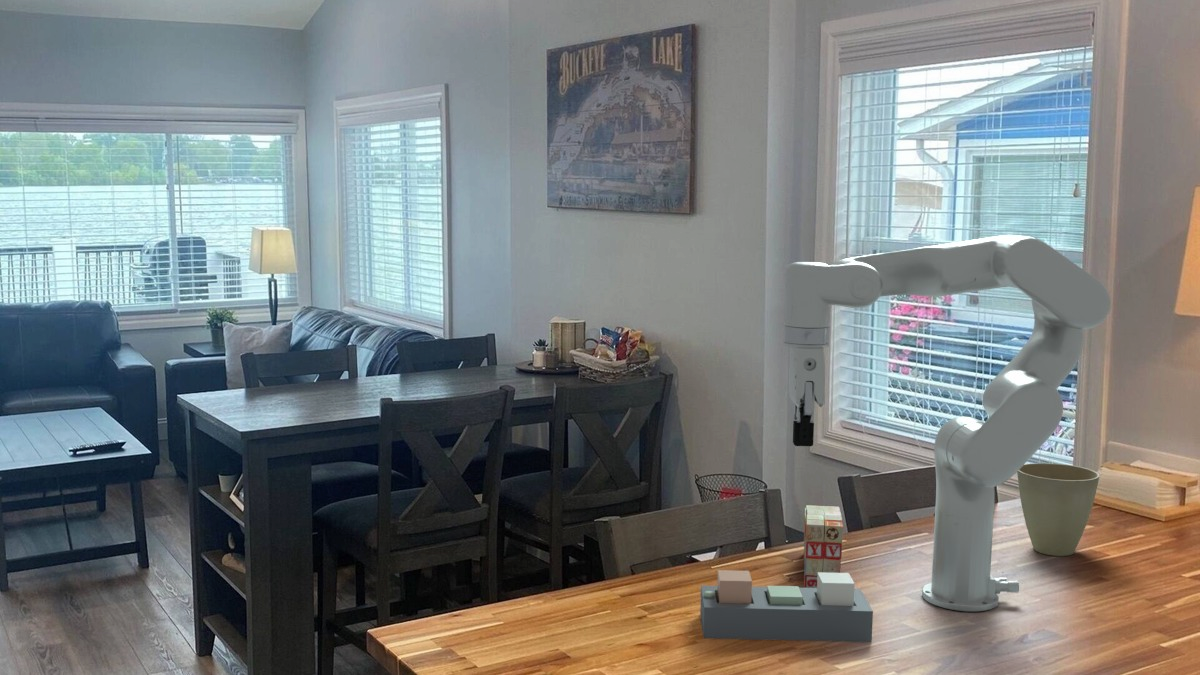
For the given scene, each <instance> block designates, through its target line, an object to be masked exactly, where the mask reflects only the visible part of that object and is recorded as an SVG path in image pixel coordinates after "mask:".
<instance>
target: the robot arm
mask: <svg viewBox="0 0 1200 675" xmlns="http://www.w3.org/2000/svg"><path fill="white" fill-rule="evenodd" d="M784 274H785V275H784V276H785V278H784V283H785V284H784V309H783V310H784V312H783V313H784V316H783V342H782V343H783V344H782V345H783V346H785V347H789V363H788V395H789V399H790V400H791V402H792V403H793V404H794V405H793V407H794V408H793V409H794V412H793V414H794V415H793V418H794V419H793V423H792V424H793V425H792V427H793V428H792V444H793V445H794V446H795V447H813V446H814V437H815V436H814V435H815V434H814V433H815V432H814V430H815V422H814V416H815V404H817V405H818V406H819V408H823V407H824V406H825V405H826V364H825V363H826V362H825V361H826V360H825V348H828V347H830V335H831V334H830V331H831V330H830V329H831V327H830V326H831V306H836V307H844V308H845V307H846V308H850V309H863V308H867V307H869V306H872V305H873V304H874V303H876V302H877V301H878V300H879V299H880V298H881V297H889V296H892V297H893V296H908V295H909V296H916V297H917V296H918V297H927V298H929V297H932V298H934V297H936V298H937V297H946V296H947V297H948V296H953V295H960V294H964V293H966V294H967V293H972V292H973V293H974V292H977V291H978V292H979V291H986V290H992V289H993V290H994V289H1000V288H1007V287H1009V288H1010V287H1011V288H1015V289H1018V290H1019V291H1021V292H1022V293H1023V294H1025V295H1026V296H1027V297H1029V298H1030V299H1031V306H1032V312H1033V315H1034V318H1033V319H1034V323H1033V329H1032V332H1031V335H1030V337H1029V338H1028V340H1027V342H1026V343H1025V344H1024V345H1023V346H1022V348H1021V349H1020V350H1019V351H1018V353H1016V355H1015V356H1014V357H1013V358H1012V359H1011V360H1010V361H1009V362H1008V363H1007V364H1006V366H1004V367H1003V369H1001V371H1000V372H999V373H998V374H997V375H996V376H995V377H994V378H993V379H992V380H991V381H990V382H989V384H988V385H987V386H986V388H985V389H984V391H983V394H982V406H983V409H984V411H985V413H986V415H988V416H989V417H988V418H987V419H986V420H985V422H984V421H982V420H980V419H977V418H975V417H972V416H957V417H953V418H951V419H949V420H947V421H946V422H945V423H944V424H943V425H942V426H941V427H940V429H939V430H938V432H937V434H936V437H935V439H934V440H935V441H934V449H933V450H934V452H933V453H934V467H935V479H936V480H935V482H936V483H935V484H936V487H935V488H936V490H935V507H934V508H935V509H934V529H933V531H934V532H933V546H932V547H933V548H932V567H931V568H932V569H931V570H932V571H931V582H929V583H926V584H924V585H923V587H922V588H921V597H922V598H923V599H924V600H925V601H926V602H928V603H929V604H931V605H934V606H937V607H939V608H943V609H946V610H953V611H959V612H960V611H961V612H985V611H989V610H992V609H994V608H996V607H997V606H998V605H999V599H1000V598H999V595H1000V593H1001V592H1003V593H1005V592H1006V593H1016V594H1017V593H1019V591H1020V584H1019V582H1018V580H1007V577H994V575H992V573H991V570H992V555H993V554H992V551H993V533H994V532H993V530H994V515H995V503H996V502H995V496H996V495H995V487H997V486H1000V485H1003V484H1004V483H1005V482H1007V481H1008V480H1010V479H1011V478H1012V477H1013V476H1014V475H1016V474H1017V471H1018V470H1019V469H1020V468H1021V467H1022V466H1023V465H1024V464H1027V462H1028V461H1029V460H1030V459H1031V458H1032V457H1033V456H1034V454H1036V453H1037V452H1038V450H1039V449H1040V448H1041V447H1042V446H1043V445H1044V444H1045V443H1046V442H1047V441H1048V440H1049V439H1050V438H1051V436H1052V435H1053V434H1054V432H1056V430H1057V429H1058V427H1059V425H1060V422H1061V421H1062V418H1063V412H1064V402H1063V398H1062V395H1061V394H1060V392H1059V391H1058V388H1059V387H1060V386H1061V385H1062V384H1063V382H1064V381H1065V380H1066V378H1068V377H1069V375H1070V374H1071V372H1072V371H1073V370H1074V368H1075V367H1076V365H1077V364H1078V362H1079V361H1080V357H1081V355H1082V351H1083V346H1084V339H1085V338H1084V336H1085V335H1084V334H1085V331H1084V330H1090V329H1093V328H1096V327H1098V326H1099V325H1101V324H1102V323H1103V322H1104V321H1105V319H1106V318H1107V317H1108V315H1109V314H1110V313H1109V312H1110V310H1111V305H1112V304H1111V303H1112V302H1111V296H1110V293H1109V291H1108V288H1106V286H1105V285H1104V284H1103V283H1102V282H1101V281H1100V280H1099V279H1097V278H1096V277H1095V276H1093V275H1092V274H1091V273H1089V272H1087V271H1086V270H1084V269H1083V268H1082V267H1080V266H1079V265H1077V264H1076V263H1074V262H1073V261H1072V260H1070V259H1069V258H1067V257H1066V256H1065V255H1063V254H1062V253H1060V252H1059V251H1057V249H1054V248H1053V247H1052V246H1050V245H1049V244H1048V243H1046V242H1045V241H1043V240H1041V239H1038V238H1035V237H1033V236H1025V235H1017V234H1014V235H1013V234H1006V235H997V236H990V237H984V238H978V239H977V238H975V239H971V240H965V241H964V240H963V241H959V242H950V243H944V244H938V245H937V244H936V245H930V246H922V247H917V248H911V249H905V250H898V251H889V252H881V253H874V254H873V253H872V254H868V255H861V256H855V257H849V258H847V257H846V258H843V259H839V260H836V261H834V262H833V263H832V264H830V265H828V264H827V263H824V262H818V261H796V262H792V263H789V264H788V265H787V266H786V269H785V273H784Z"/></svg>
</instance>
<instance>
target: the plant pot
mask: <svg viewBox="0 0 1200 675" xmlns="http://www.w3.org/2000/svg"><path fill="white" fill-rule="evenodd" d="M1016 474H1017V482H1018V489H1019V497H1020V498H1019V499H1020V503H1021V508H1022V514H1023V517H1024V522H1025V525H1026V529H1027V532H1028V536H1029V539H1030V543H1031V546H1032V548H1033V550H1035V551H1036V552H1037V553H1040V554H1043V555H1047V556H1054V557H1055V556H1056V557H1066V556H1072V555H1073V554H1074V553H1075V552H1076V550H1077V547H1078V546H1079V543H1080V541H1081V539H1082V536H1083V534H1084V532H1085V528H1086V526H1087V524H1088V521H1089V519H1090V515H1091V513H1092V508H1093V506H1094V502H1095V497H1096V494H1097V489H1098V485H1099V480H1100V475H1101V474H1099V472H1097V471H1095V470H1093V469H1091V468H1087V467H1082V466H1077V465H1072V464H1064V463H1053V462H1052V463H1051V462H1035V463H1034V462H1033V463H1025V464H1024V465H1023V466H1022V467H1021V468H1020V469H1019V470H1018V471H1017V472H1016Z"/></svg>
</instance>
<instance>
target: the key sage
mask: <svg viewBox="0 0 1200 675" xmlns="http://www.w3.org/2000/svg"><path fill="white" fill-rule="evenodd" d="M766 587H767V602H768V604H787V605H802V602H803V597H802V594H801V592H800V589H799V588H800V587H799V586H798V585H797V586H796V585H795V586H794V585H767V586H766Z"/></svg>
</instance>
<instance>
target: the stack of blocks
mask: <svg viewBox="0 0 1200 675" xmlns="http://www.w3.org/2000/svg"><path fill="white" fill-rule="evenodd" d="M803 512H804V513H803V524H804V525H803V528H804V529H803V531H804V532H803V534H804V535H803V568H804V572H803V573H804V575H803V576H804V577H803V579H804V581H803V588H817V574H818V572H825V573H841V569H842V568H841V564H842V554H843V552H842V551H843V533H844V525H843V518H842V513H841V509H840V506H833V505H832V506H829V505H827V506H826V505H811V504H810V505H809V504H808V505H807V504H806V505H805V507H804V510H803Z"/></svg>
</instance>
